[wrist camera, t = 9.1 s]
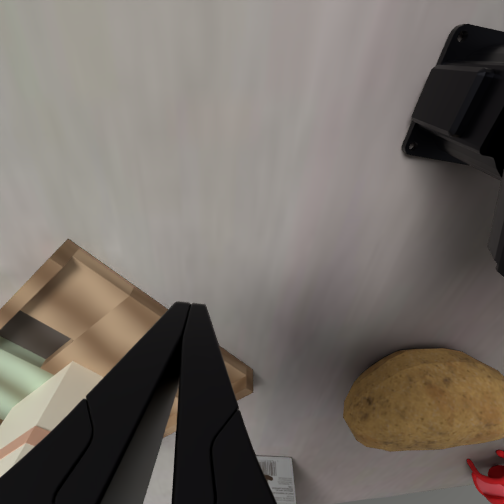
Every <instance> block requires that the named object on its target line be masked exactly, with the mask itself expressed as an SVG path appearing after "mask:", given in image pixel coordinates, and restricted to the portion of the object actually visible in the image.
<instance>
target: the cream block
mask: <svg viewBox="0 0 504 504" xmlns="http://www.w3.org/2000/svg"><path fill="white" fill-rule="evenodd" d="M102 378H103V377H102V376H100V375H99V374H97V373H95V372H93V371H91V370H89V369H87V368H85V367H83V366H81V365H79V364H78V363H76V362H74V361H72V362H71V363H70V364H68V365H67V366H66V367H64V368H63V369H62V370H60V371H59V372H58V373H57V374H55V375H54V376H53V377H51V378H50V379H49V380H47V381H46V382H45V383H43V384H42V385H41V386H40V387H38V388H37V389H36V390H34V391H33V392H32V393H30V394H29V395H28V396H27V397H25V398H24V399H23V400H21V401H20V402H19V403H17V404H16V405H15V406H14V407H12V409H11V410H10V412H9V413H8V415H7V416H6V418H5V419H4V421H3V422H2V424H1V425H0V477H1V476H2V475H3V474H5V473H6V472H7V471H8V470H9V469H10V468H11V467H12V466H14V465H15V464H16V463H17V462H18V461H19V460H20V459H22V458H23V457H24V456H25V455H26V454H27V453H28V452H29V451H30V450H31V449H32V448H34V447H35V446H36V445H37V444H38V443H39V442H40V441H41V440H42V439H43V438H45V437H46V436H47V435H48V434H49V433H50V432H51V431H52V430H53V429H54V428H55V427H56V426H57V425H58V424H59V423H60V422H61V421H62V420H63V419H64V418H65V417H66V416H67V415H68V414H69V413H70V412H71V411H72V410H73V409H74V408H75V407H76V405H77V404H78V403H79V402H80V401H81V400H82V399H84V398H85V399H86V395H87V394H88V393H89V392H90V391H91V390H92V389H93V388H94V387H95V386H96V385H97V384H98V383H99V382H100V381H101V379H102Z"/></svg>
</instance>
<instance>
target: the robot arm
mask: <svg viewBox="0 0 504 504" xmlns="http://www.w3.org/2000/svg"><path fill="white" fill-rule="evenodd" d="M461 31H462V32H463V38H462V39H461V41H458V39H457V37H458V35H459V33H460V32H461ZM412 119H413V121H412V123H411V126H410V128H409V130H408V133H407V135H406V137H405V140H404V142H403V145H402V149H403V151H404V152H405V153H407V154H409V155H413V156H419V157H425V158H431V159H437V160H443V161H449V162H454V163H460V164H466V165H471V166H473V167H475V168H477V169H479V170H481V171H483V172H485V173H487V174H489V175H491V176H493V177H495V178H497V179H499V180H501V186H500V190H499V195H498V200H497V204H496V209H495V214H494V218H493V223H492V228H491V232H490V237H489V242H488V248H489V250H490V252H491V254H492V256H493V259H494V260H495V261H496V263H497V266H496V270H497V272H499V273H500V274H501V275H502V276H503V277H504V32H502V31H497V30H493V29H488V28H484V27H479V26H475V25H470V24H462V25H458V26H456V27H455V28H454V29H453V30H452V31H451V33H450V34H449V36H448V39H447V41H446V43H445V46H444V48H443V50H442V53H441V55H440V57H439V60H438V62H437V65H436V66H435V67H434V68H432V70H431V72H430V74H429V77H428V79H427V81H426V84H425V86H424V88H423V91H422V93H421V96H420V98H419V100H418V103H417V105H416V107H415V110H414V112H413V115H412ZM413 142H414V143H415V145H414V147H413V148H412V149H409V146H410V144H411V143H413ZM178 386H179V393H178V409H177V425H176V441H175V457H174V473H173V489H172V504H277V502H276V500H275V497H274V495H273V493H272V491H271V489H270V486H269V484H268V482H267V480H266V478H265V476H264V473H263V471H262V469H261V466H260V464H259V462H258V459H257V457H256V454H255V452H254V450H253V447H252V444H251V442H250V439H249V436H248V433H247V430H246V428H245V425H244V422H243V418H242V415H241V412H240V411H239V407H238V403H237V400H236V397H235V394H234V391H233V388H232V385H231V382H230V378H229V375H228V372H227V369H226V366H225V363H224V360H223V357H222V353H221V350H220V347H219V344H218V341H217V338H216V335H215V332H214V328H213V325H212V322H211V319H210V316H209V313H208V310H207V307H206V305H205V304H197V303H192V304H190V303H188V302H175V303H174V304H173V305H172V306H171V307H170V308H169V309H168V310H167V311H166V313H165V314H164V315H163V316H162V317H161V318H160V319H159V320H158V321H157V322H156V323H155V324H154V325H153V326H152V327H151V328H150V329H149V330H148V331H147V332H146V333H145V335H144V336H143V337H142V338H141V339H140V340H139V341H138V342H137V343H136V344H135V345H134V346H133V347H132V348H131V349H130V350H129V351H128V352H127V353H126V354H125V355H124V356H123V358H122V359H121V360H120V361H119V362H118V363H117V364H116V365H115V366H114V367H113V368H112V369H111V370H110V371H109V372H108V373H107V374H106V375H105V376H104V377H103V378H102V379H101V381H100V382H99V383H98V384H97V385H96V386H95V387H94V388H93V389H92V390H91V391H90V392H89V393H88V394H87V395H86V399H85V398H84V399H82V400H81V401H80V402H79V403H78V404H77V405H76V407H75V408H74V409H73V410H72V411H71V412H70V413H69V414H68V415H67V416H66V417H65V418H64V419H63V420H62V421H61V422H60V423H59V424H58V425H57V426H56V427H55V428H54V429H53V430H52V431H51V432H50V433H49V434H48V435H47V436H46V437H45V438H43V439H42V440H41V441H40V442H39V443H38V444H37V445H36V446H35V447H34V448H32V449H31V450H30V451H29V452H28V453H27V454H26V455H25V456H24V457H23V458H22V459H20V460H19V461H18V462H17V463H16V464H15V465H14V466H12V467H11V468H10V469H9V470H8V471H7V472H6V473H5V474H3V475H2V476H1V477H0V504H143V501H144V498H145V495H146V492H147V488H148V485H149V482H150V478H151V475H152V472H153V468H154V465H155V462H156V459H157V455H158V452H159V449H160V445H161V442H162V439H163V436H164V432H165V429H166V426H167V422H168V419H169V416H170V412H171V409H172V406H173V403H174V399H175V396H176V393H177V389H178Z"/></svg>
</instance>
